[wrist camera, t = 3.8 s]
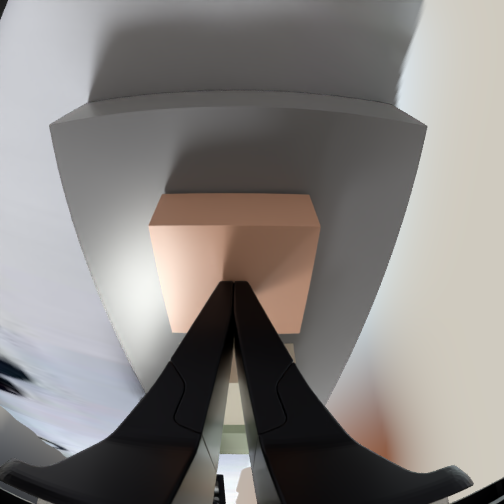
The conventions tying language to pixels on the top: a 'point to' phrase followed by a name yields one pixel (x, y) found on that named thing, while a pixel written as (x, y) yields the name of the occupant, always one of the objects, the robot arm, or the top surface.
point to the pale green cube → (234, 440)
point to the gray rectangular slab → (239, 181)
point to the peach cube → (235, 252)
